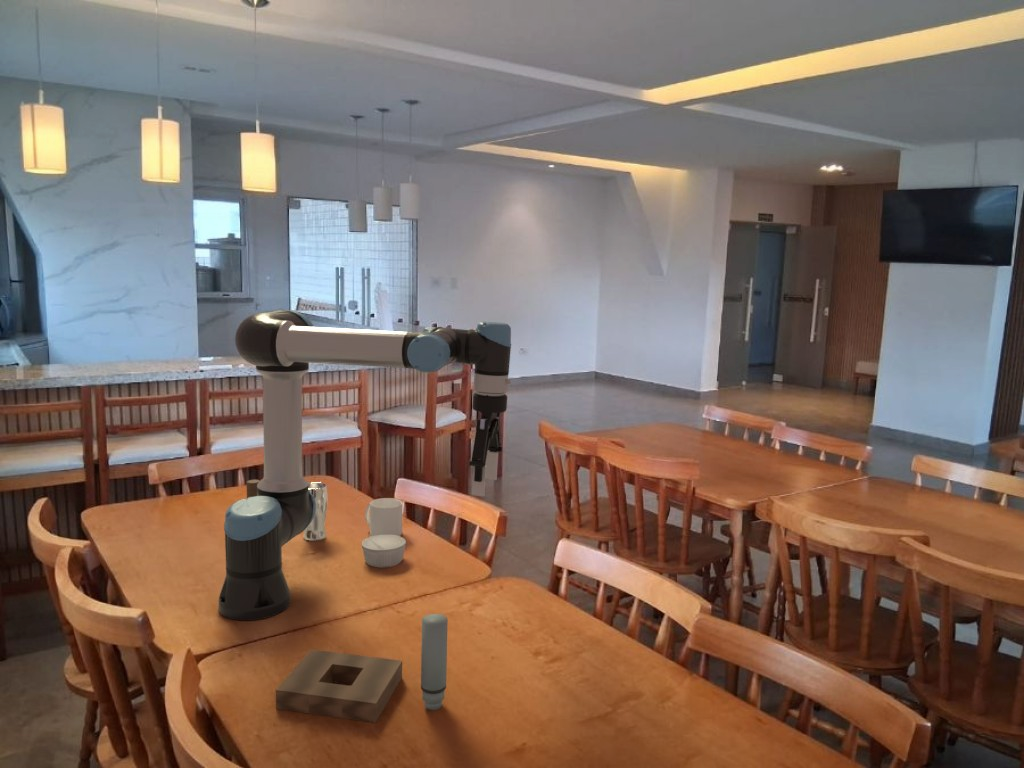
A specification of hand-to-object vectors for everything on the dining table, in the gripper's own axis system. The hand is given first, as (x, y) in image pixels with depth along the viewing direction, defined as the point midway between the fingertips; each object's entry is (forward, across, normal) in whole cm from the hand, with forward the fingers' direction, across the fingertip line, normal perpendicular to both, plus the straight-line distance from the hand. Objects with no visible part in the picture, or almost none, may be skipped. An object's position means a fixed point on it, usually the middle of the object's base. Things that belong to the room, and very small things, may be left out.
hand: (484, 487), depth 166 cm
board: (+29, -40, +16) cm, 52 cm away
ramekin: (+28, +19, +29) cm, 45 cm away
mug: (+28, +38, +36) cm, 60 cm away
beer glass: (+29, +30, +53) cm, 67 cm away
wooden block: (+29, +18, +63) cm, 72 cm away
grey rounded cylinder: (+29, -40, -1) cm, 49 cm away
